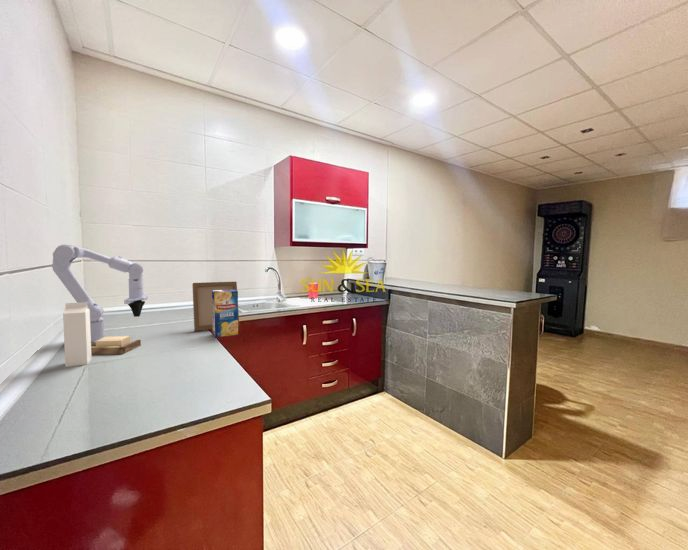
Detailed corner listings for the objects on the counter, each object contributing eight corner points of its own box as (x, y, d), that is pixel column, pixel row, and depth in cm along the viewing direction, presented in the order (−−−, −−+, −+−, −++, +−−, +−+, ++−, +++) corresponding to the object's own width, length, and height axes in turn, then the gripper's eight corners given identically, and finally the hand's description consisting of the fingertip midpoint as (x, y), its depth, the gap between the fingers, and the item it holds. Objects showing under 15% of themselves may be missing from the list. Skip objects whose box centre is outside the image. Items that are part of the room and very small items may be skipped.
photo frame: (239, 327, 162) (238, 282, 161) (195, 332, 151) (194, 283, 149) (233, 322, 175) (233, 280, 173) (192, 326, 163) (191, 281, 162)
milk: (87, 364, 106) (85, 303, 104) (64, 367, 103) (62, 304, 101) (91, 359, 111) (89, 301, 110) (70, 361, 108) (67, 302, 107)
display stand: (80, 354, 116) (79, 347, 116) (102, 345, 127) (101, 339, 127) (122, 354, 117) (122, 347, 117) (140, 345, 128) (140, 339, 128)
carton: (96, 353, 118) (95, 341, 117) (106, 348, 125) (106, 336, 124) (121, 352, 119) (121, 340, 119) (130, 347, 126) (130, 335, 126)
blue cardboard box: (212, 334, 148) (211, 290, 147) (234, 331, 154) (234, 289, 153) (214, 337, 142) (214, 292, 141) (238, 334, 149) (238, 290, 147)
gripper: (135, 290, 135) (136, 319, 136) (153, 286, 150) (154, 313, 150) (119, 290, 135) (120, 319, 136) (138, 286, 149) (139, 313, 150)
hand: (136, 316), depth 143 cm, fingers closed
